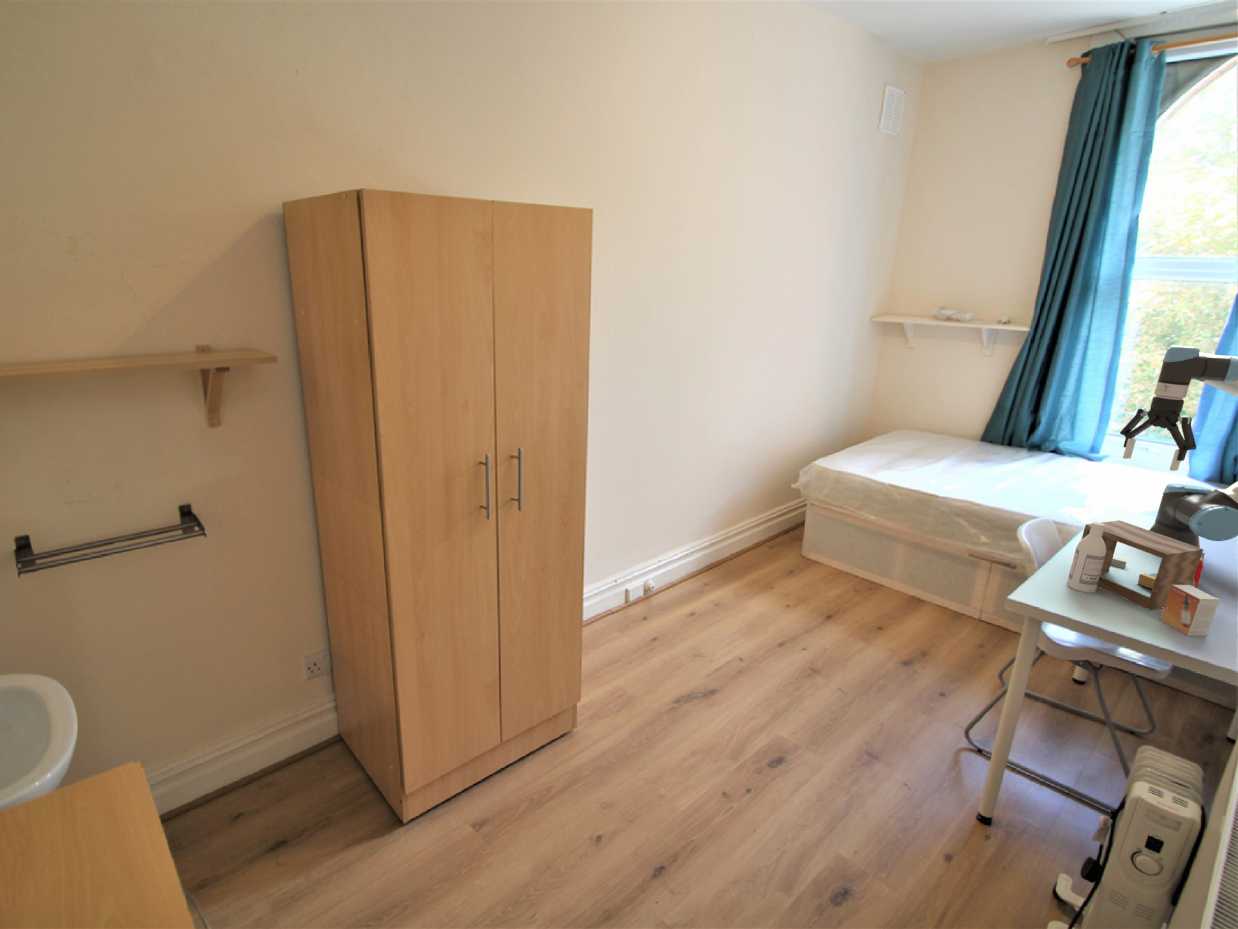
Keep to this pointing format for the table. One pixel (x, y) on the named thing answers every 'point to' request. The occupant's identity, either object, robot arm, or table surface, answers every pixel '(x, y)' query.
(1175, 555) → the cubby
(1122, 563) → the plain stick
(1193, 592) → the small box
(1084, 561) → the bath foam
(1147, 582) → the crook
